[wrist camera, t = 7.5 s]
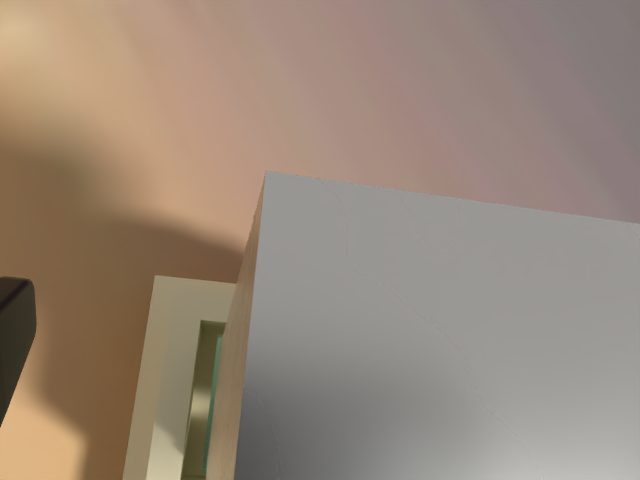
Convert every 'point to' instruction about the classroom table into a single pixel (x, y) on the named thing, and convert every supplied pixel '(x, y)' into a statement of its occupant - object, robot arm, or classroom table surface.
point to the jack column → (426, 341)
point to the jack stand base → (176, 379)
